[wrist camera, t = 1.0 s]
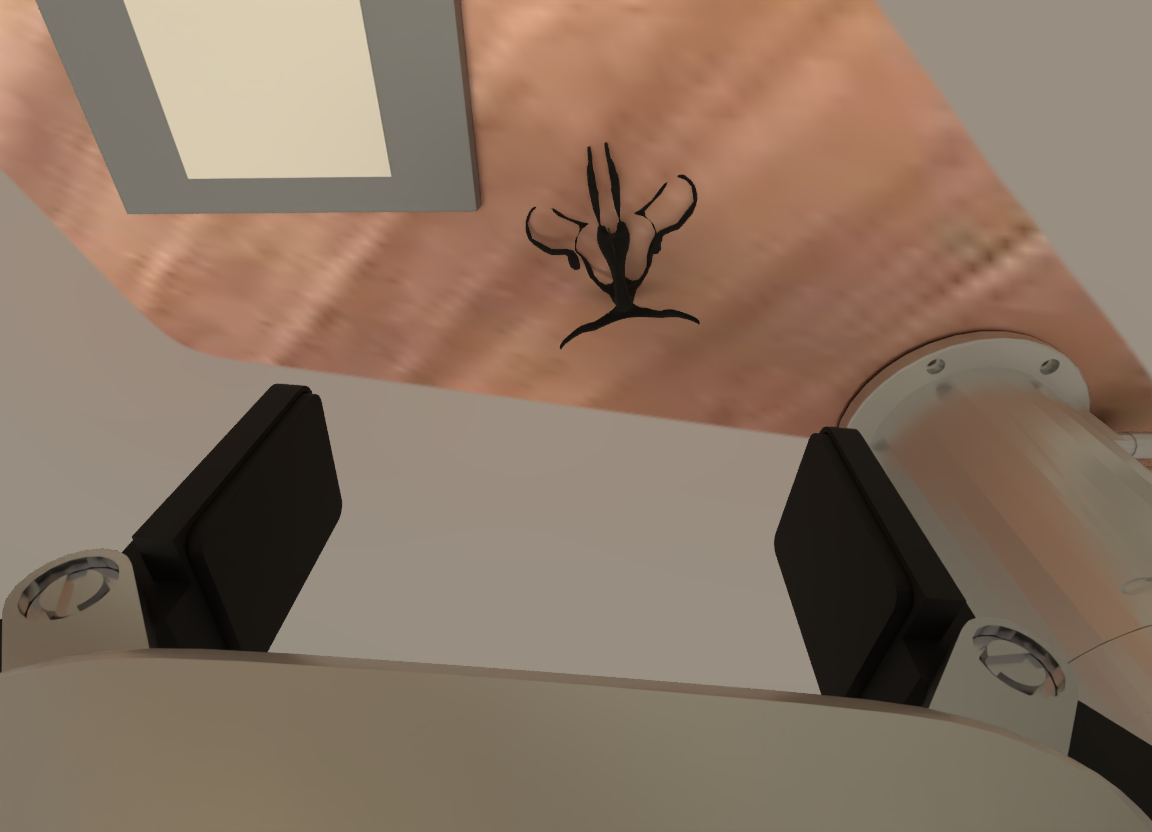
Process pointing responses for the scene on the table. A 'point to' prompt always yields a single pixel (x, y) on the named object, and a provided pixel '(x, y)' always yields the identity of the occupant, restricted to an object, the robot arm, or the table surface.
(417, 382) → the table surface
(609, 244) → the creature
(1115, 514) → the robot arm
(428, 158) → the grey picture mat
